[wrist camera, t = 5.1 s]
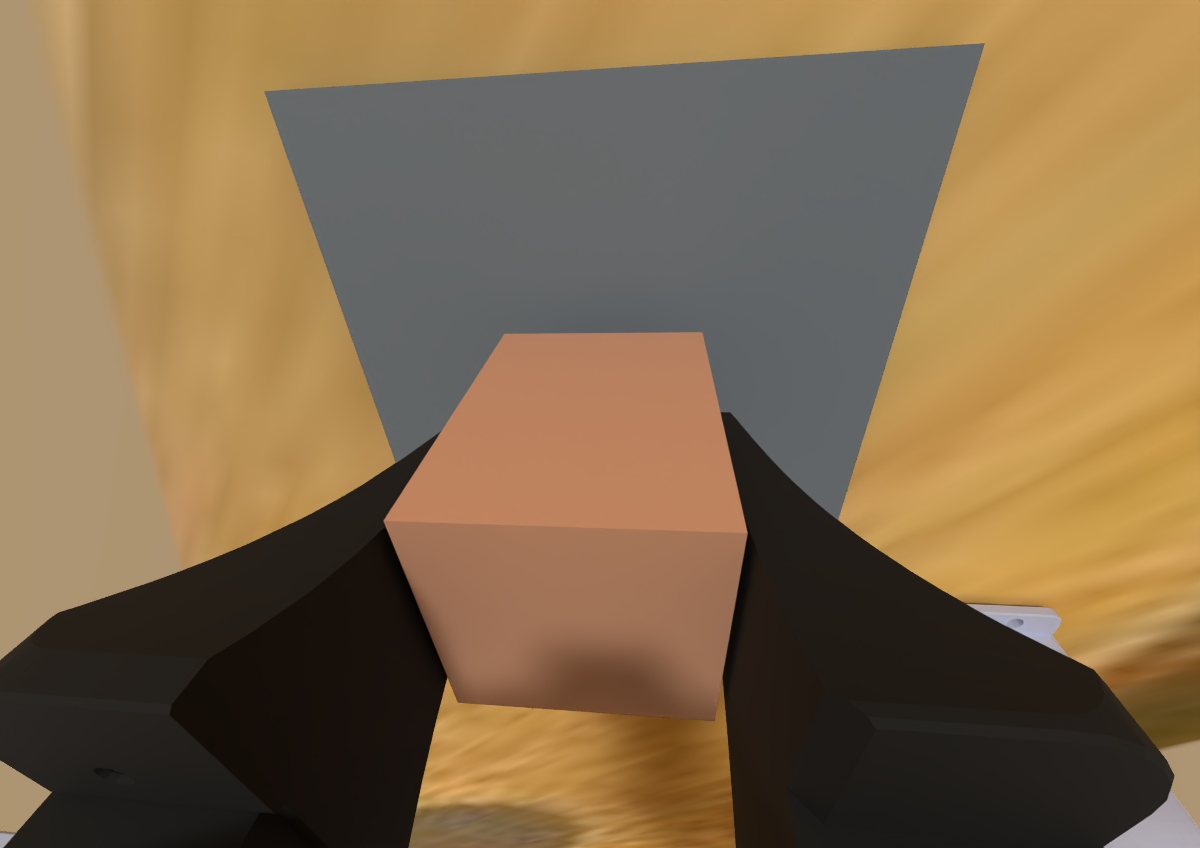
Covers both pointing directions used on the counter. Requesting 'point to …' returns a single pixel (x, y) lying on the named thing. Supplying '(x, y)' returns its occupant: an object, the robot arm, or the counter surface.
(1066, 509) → the counter surface
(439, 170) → the mat
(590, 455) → the block
